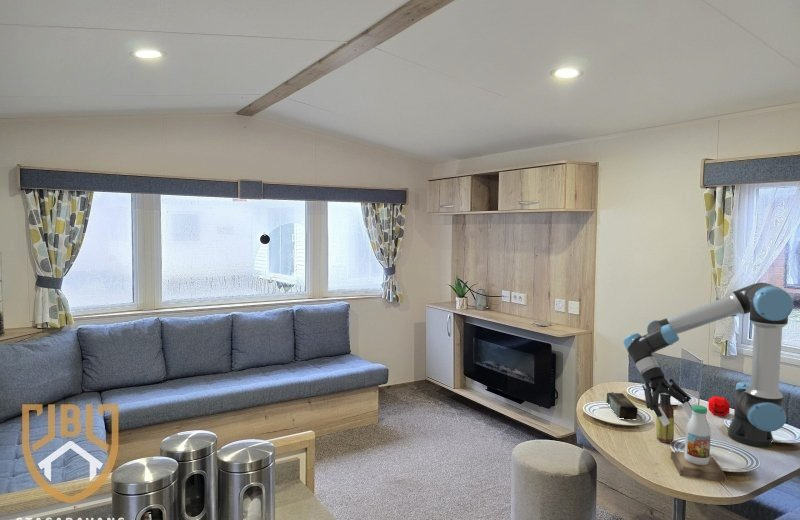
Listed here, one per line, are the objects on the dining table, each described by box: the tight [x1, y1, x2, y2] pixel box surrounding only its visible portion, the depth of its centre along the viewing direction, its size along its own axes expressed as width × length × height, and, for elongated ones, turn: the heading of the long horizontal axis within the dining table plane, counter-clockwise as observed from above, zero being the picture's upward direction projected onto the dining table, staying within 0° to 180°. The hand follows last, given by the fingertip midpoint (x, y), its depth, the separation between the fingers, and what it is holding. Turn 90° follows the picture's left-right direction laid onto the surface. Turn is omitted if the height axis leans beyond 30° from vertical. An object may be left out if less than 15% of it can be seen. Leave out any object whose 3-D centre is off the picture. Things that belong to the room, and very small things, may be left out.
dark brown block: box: [606, 391, 639, 420], centre depth 237 cm, size 8×19×7 cm, turn 175°
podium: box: [670, 450, 727, 482], centre depth 185 cm, size 14×14×3 cm
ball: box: [707, 395, 731, 417], centre depth 234 cm, size 8×8×8 cm
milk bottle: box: [684, 404, 712, 465], centre depth 184 cm, size 8×8×20 cm
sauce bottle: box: [655, 393, 675, 444], centre depth 207 cm, size 7×6×20 cm
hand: (680, 422), depth 191 cm, fingers open, 13 cm apart
